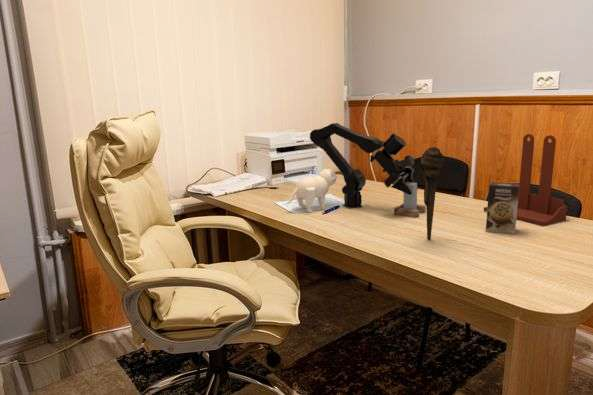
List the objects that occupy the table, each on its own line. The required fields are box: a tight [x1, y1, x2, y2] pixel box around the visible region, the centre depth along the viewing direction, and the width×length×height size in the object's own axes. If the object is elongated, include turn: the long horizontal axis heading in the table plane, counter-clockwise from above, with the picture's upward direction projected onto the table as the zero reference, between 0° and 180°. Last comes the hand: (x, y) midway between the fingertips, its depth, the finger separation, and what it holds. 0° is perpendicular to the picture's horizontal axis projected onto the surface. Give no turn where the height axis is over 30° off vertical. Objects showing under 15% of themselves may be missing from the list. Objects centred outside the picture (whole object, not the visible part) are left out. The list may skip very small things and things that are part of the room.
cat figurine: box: [285, 167, 338, 213], centre depth 178 cm, size 25×10×17 cm, turn 115°
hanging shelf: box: [483, 133, 568, 227], centre depth 156 cm, size 24×13×30 cm, turn 27°
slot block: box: [393, 203, 427, 219], centre depth 168 cm, size 9×10×2 cm
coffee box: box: [484, 181, 520, 235], centre depth 142 cm, size 9×6×16 cm
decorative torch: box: [420, 146, 445, 241], centre depth 134 cm, size 7×7×30 cm
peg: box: [402, 182, 418, 210], centre depth 167 cm, size 4×4×12 cm
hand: (414, 192), depth 166 cm, fingers open, 6 cm apart
